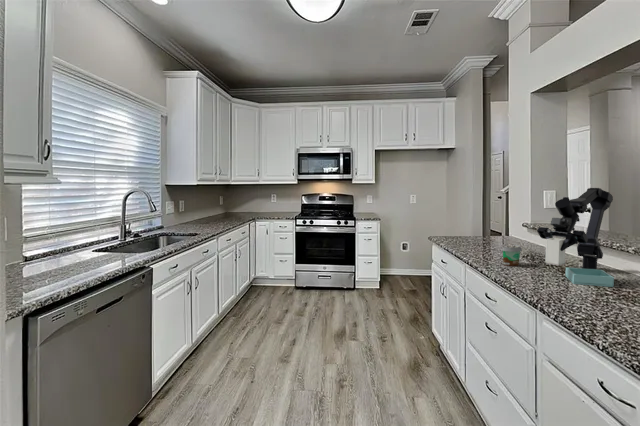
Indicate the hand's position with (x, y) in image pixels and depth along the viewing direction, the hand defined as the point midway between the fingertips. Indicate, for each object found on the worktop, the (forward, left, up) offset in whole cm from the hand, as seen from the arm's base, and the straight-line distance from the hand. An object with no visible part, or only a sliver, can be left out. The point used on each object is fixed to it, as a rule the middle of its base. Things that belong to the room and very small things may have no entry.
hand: (553, 249), depth 154 cm
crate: (-2, +13, -14) cm, 19 cm away
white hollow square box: (-1, +1, -7) cm, 7 cm away
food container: (-25, -13, -14) cm, 31 cm away
